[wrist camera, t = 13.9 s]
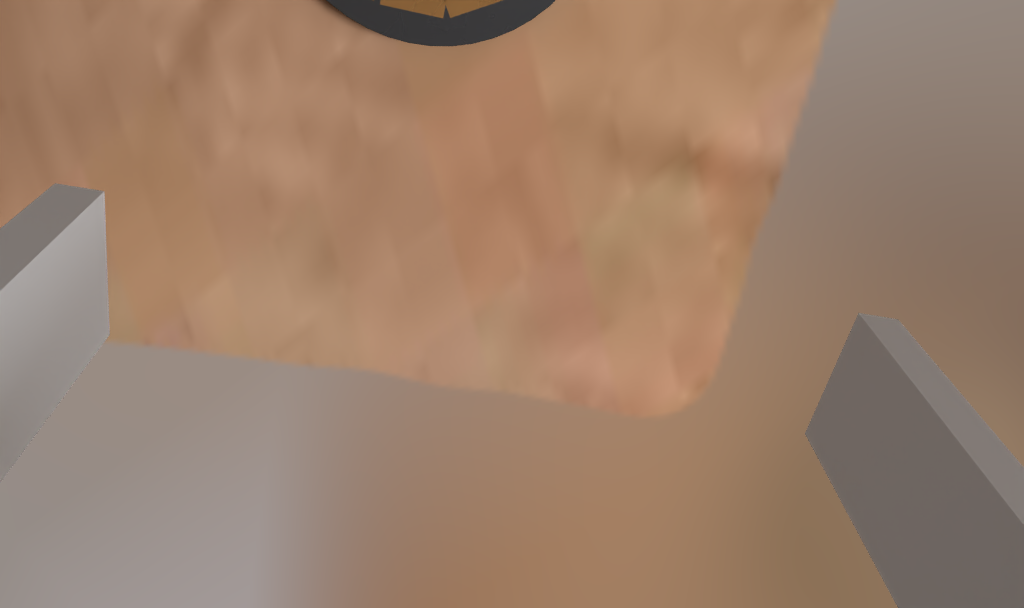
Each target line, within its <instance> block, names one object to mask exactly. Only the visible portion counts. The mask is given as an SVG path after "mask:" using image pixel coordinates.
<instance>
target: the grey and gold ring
mask: <svg viewBox="0 0 1024 608" xmlns="http://www.w3.org/2000/svg"><path fill="white" fill-rule="evenodd" d="M327 1H328V2H329V3H330V4H332V5H333V6H334V7H336V8H337V9H338V10H340V11H341V12H342V13H343V14H345V15H346V16H347V17H349V18H351V19H353V20H354V21H356V22H358V23H359V24H361V25H363V26H365V27H366V28H368V29H371V30H373V31H375V32H378V33H380V34H382V35H385V36H387V37H390V38H394V39H397V40H401V41H404V42H408V43H414V44H421V45H427V46H457V45H465V44H473V43H477V42H481V41H485V40H489V39H492V38H495V37H498V36H500V35H503V34H505V33H507V32H510V31H512V30H514V29H516V28H518V27H520V26H521V25H523V24H525V23H527V22H528V21H530V20H532V19H533V18H535V17H536V16H537V15H538V14H540V13H541V12H542V11H544V10H545V9H546V8H548V7H549V6H550V5H551V4H552V3H553V2H554V1H555V0H327Z"/></svg>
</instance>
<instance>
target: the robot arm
mask: <svg viewBox="0 0 1024 608" xmlns="http://www.w3.org/2000/svg"><path fill="white" fill-rule="evenodd" d="M109 335H110V333H109V306H108V279H107V252H106V225H105V198H104V191H99V190H93V189H87V188H80V187H74V186H68V185H62V184H56V183H55V184H54V185H52V186H51V187H50V188H49V189H48V190H46V191H45V192H44V193H43V194H42V195H40V196H39V197H38V198H37V199H36V200H34V201H33V202H32V203H31V204H30V205H28V206H27V207H26V208H25V209H23V210H22V211H21V212H20V213H19V214H17V215H16V216H15V217H14V218H13V219H11V220H10V221H9V222H8V223H7V224H5V225H4V226H3V227H2V228H1V229H0V482H1V481H2V480H3V478H4V477H5V476H6V474H7V473H8V472H9V470H10V469H11V468H12V466H13V465H14V464H15V462H16V461H17V460H18V458H19V457H20V455H21V454H22V453H23V451H24V450H25V448H26V447H27V446H28V444H29V443H30V442H31V441H32V439H33V438H34V436H35V435H36V434H37V432H38V431H39V430H40V428H41V427H42V426H43V424H44V423H45V422H46V420H47V419H48V417H49V416H50V415H51V413H52V412H53V411H54V409H55V408H56V407H57V405H58V404H59V403H60V401H61V400H62V398H63V397H64V396H65V394H66V393H67V392H68V390H69V389H70V388H71V386H72V385H73V383H74V382H75V381H76V380H77V378H78V377H79V375H80V374H81V373H82V371H83V370H84V369H85V367H86V366H87V365H88V363H89V362H90V361H91V359H92V358H93V357H94V355H95V354H96V352H97V351H98V350H99V348H100V347H101V346H102V344H103V343H104V342H105V340H106V339H107V338H108V336H109ZM805 435H806V436H807V438H808V440H809V442H810V444H811V446H812V448H813V450H814V451H815V453H816V455H817V457H818V459H819V461H820V463H821V464H822V466H823V468H824V470H825V472H826V474H827V476H828V478H829V480H830V481H831V483H832V485H833V487H834V489H835V491H836V493H837V494H838V496H839V498H840V500H841V502H842V504H843V506H844V508H845V510H846V511H847V513H848V515H849V517H850V519H851V521H852V523H853V525H854V526H855V528H856V530H857V532H858V534H859V536H860V538H861V539H862V541H863V543H864V545H865V547H866V549H867V550H868V553H869V555H870V556H871V558H872V560H873V562H874V564H875V566H876V568H877V569H878V571H879V573H880V575H881V577H882V579H883V581H884V582H885V584H886V586H887V588H888V590H889V592H890V594H891V596H892V597H893V599H894V601H895V603H896V605H897V607H898V608H1024V467H1023V466H1022V465H1021V464H1020V463H1019V462H1018V460H1017V459H1016V458H1015V457H1014V456H1013V454H1012V453H1011V452H1010V451H1009V450H1008V448H1007V447H1006V446H1005V445H1004V444H1003V443H1002V442H1001V440H1000V439H999V438H998V437H997V436H996V434H995V433H994V432H993V431H992V430H991V428H990V427H989V426H988V425H987V424H986V423H985V421H984V420H983V419H982V418H981V417H980V415H979V414H978V413H977V412H976V411H975V410H974V408H973V407H972V406H971V405H970V404H969V403H968V401H967V400H966V399H965V398H964V397H963V395H962V394H961V393H960V392H959V391H958V390H957V388H956V387H955V386H954V385H953V384H952V382H951V381H950V380H949V379H948V378H947V377H946V376H945V374H944V373H943V372H942V371H941V370H940V368H939V367H938V366H937V365H936V364H935V362H934V361H933V360H932V359H931V358H930V357H929V355H928V354H926V352H925V351H924V349H923V348H922V347H921V346H920V345H919V344H918V343H917V341H916V340H915V339H914V338H913V337H912V336H911V334H910V333H909V332H908V331H907V329H906V328H905V327H904V326H903V325H902V324H901V322H900V321H899V320H897V319H892V318H886V317H879V316H873V315H867V314H861V313H858V316H857V318H856V320H855V322H854V325H853V327H852V329H851V331H850V334H849V336H848V338H847V340H846V343H845V345H844V347H843V349H842V352H841V354H840V356H839V358H838V361H837V363H836V365H835V367H834V370H833V372H832V374H831V377H830V379H829V381H828V383H827V385H826V388H825V390H824V392H823V394H822V397H821V399H820V401H819V403H818V406H817V408H816V410H815V412H814V415H813V417H812V419H811V421H810V424H809V426H808V428H807V430H806V433H805Z"/></svg>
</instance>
